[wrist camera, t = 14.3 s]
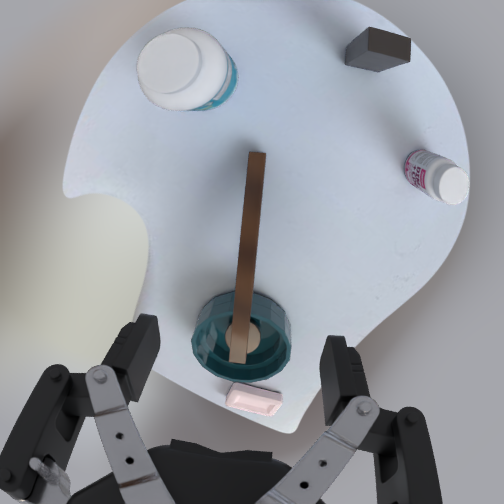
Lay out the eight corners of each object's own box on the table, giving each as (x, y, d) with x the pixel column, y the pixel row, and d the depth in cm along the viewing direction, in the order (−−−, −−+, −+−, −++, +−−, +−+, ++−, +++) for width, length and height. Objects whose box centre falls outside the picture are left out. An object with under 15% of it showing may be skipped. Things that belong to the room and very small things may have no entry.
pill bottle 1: (164, 98, 31) (104, 95, 18) (190, 41, 28) (142, 7, 15) (223, 120, 32) (191, 125, 19) (251, 62, 28) (236, 31, 16)
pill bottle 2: (396, 161, 32) (428, 177, 24) (426, 142, 30) (462, 153, 23) (413, 194, 33) (445, 217, 26) (441, 175, 32) (478, 194, 24)
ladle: (258, 351, 42) (257, 381, 31) (225, 347, 42) (213, 376, 31) (275, 178, 42) (280, 154, 31) (241, 175, 42) (235, 150, 31)
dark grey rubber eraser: (378, 72, 28) (410, 62, 19) (344, 65, 28) (367, 50, 20) (379, 53, 26) (411, 38, 18) (346, 46, 27) (368, 26, 18)
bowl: (183, 304, 43) (173, 326, 38) (270, 277, 40) (269, 299, 35) (223, 365, 48) (218, 388, 43) (301, 347, 45) (302, 371, 40)
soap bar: (234, 380, 49) (233, 390, 47) (283, 392, 50) (283, 403, 48) (225, 396, 51) (224, 406, 49) (272, 408, 52) (271, 418, 50)
